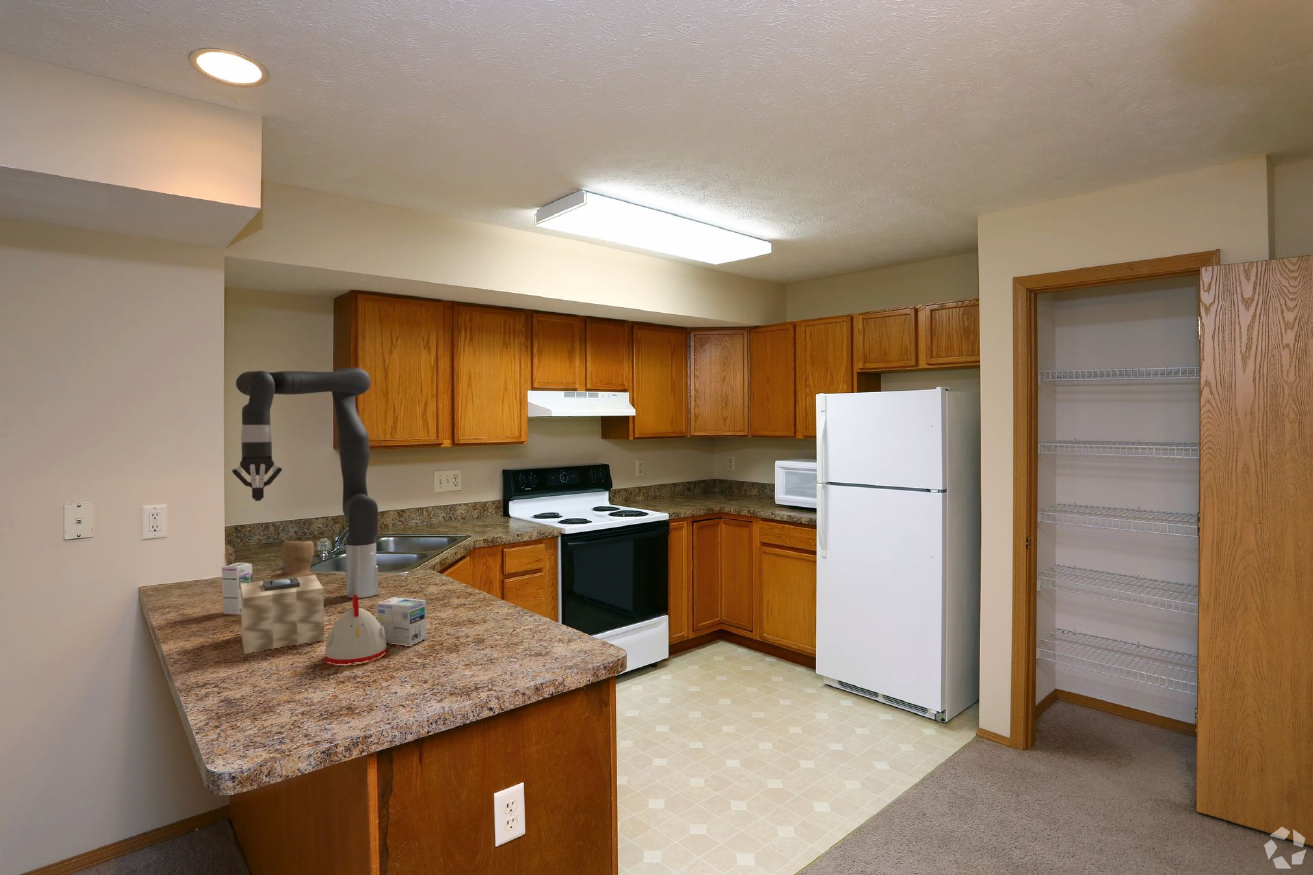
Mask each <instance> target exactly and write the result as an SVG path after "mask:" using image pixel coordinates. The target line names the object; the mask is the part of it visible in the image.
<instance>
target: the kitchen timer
mask: <svg viewBox="0 0 1313 875" xmlns="http://www.w3.org/2000/svg"><path fill="white" fill-rule="evenodd" d="M385 638H386V637H385V632H384V627H383V626H382V625H381V623H379V622H378V618H376V617H375V616H374V615H373V614H372V613H371V612H369V611H368V610H366V609H364V608H362V607H361V608H360V605H359V598H358V596H357V595H353V598H352V608H351V609H348V610H347V611H345V612H344V613H342V615H341V616H340V617H339V618H338V619H337V621H336V622H335V623H334V625H333V626H332V629H328V632H327V635H326V641H325V650H324V661H325V660H326V661H327V662H331V663H335V664H348V663H354V662H363V661H366V660H371V659H373V658H377V657H379V656H381V655H382V654H384V653H385V652H386V649H387V646H388V644H386V639H385ZM386 653H387V652H386Z"/></svg>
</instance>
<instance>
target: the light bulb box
mask: <svg viewBox="0 0 1313 875" xmlns="http://www.w3.org/2000/svg"><path fill="white" fill-rule="evenodd" d="M376 604H377V605H376V606H377V607H376V612H377V621H378V622H379V623H381V625H382V626H383V627H384V632H385V637H386V638H385V639H386V642H387V643H398V644H406V645H412V644H414V643H416V642H418V641H421V640H422V639H425V638H427V601H426V599H418V598H416V599H415V598H406V597H396V596H394V597H389V598H388V599H385V600H382V601H379V602H377V603H376Z"/></svg>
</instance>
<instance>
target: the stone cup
mask: <svg viewBox="0 0 1313 875" xmlns="http://www.w3.org/2000/svg"><path fill="white" fill-rule="evenodd" d="M314 544H315V543H314V542H313V541H311V540H308V541H306V540H303V541H302V540H301V541H294V540H293V541H292V540H288V541H287V540H286V541H283V543H282V547H281V552H280V553H281V558H282V562H283V570H282V572H280V573H275V574H272V575H271V576H270V578H269V580H277V579H285V578H294V577H302V576H311V575H315V576H316V578H317V579H318V575H317V574H316V573H314V572H312V571H311V564H312V562H313V559H314V556H315V545H314Z"/></svg>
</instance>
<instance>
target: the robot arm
mask: <svg viewBox="0 0 1313 875" xmlns="http://www.w3.org/2000/svg"><path fill="white" fill-rule="evenodd" d="M371 384H372V383H371V377H370V375H369V373H368V372H367V371H365V370H364V369H363V368H361V367H354V366H353V367H344V368H343V367H341V368H338V369H336V370H334V371H306V370H305V371H303V370H301V371H300V370H297V371H296V370H283V371H282V370H280V371H274V372H273V371H272V372H270V371H265V370H253V371H244V372H242V373H241V374H240V375H238V376H237V379H236V381H235V386H236V388H237V390H238V391H239V392H240V393H241V394H243V395H245V396H249V398H248V403H247V404H245V405H243V406H242V409H241V433H240V434H241V438H240V440H241V461H239V465H238V466H237V467H235V468H232V470H231V473H232V474H233V475H234V476H235V477H236V478H237V479H238V480H240V482H241V483H242V484H243V486H245V487H249V488H251V498H252V500H254V502H259V501H262V500H263V499H264V493H265V492H264V489H265V487H267V486H270V485H271V484H272V483H273V481H274V480H275V479H276V478H277V477H278V476H279V474H280V473H282V471H283V469H282V467H279V466H277V465H276V464H275V461H274V459H273V447H272V446H273V444H272V443H273V441H272V439H273V436H272V434H273V433H272V427H271V408H272V405H273V400H274V396H275V395H290V396H291V395H304V394H305V395H307V394H315V393H328V392H330V393H331V394H332V399H333V405H334V409H335V410H334V411H335V417H336V418H335V419H336V428H337V438H338V439H337V441H338V453H339V460H340V470H341V476H342V512H343V515H344V516H345V518H346V519H348V532H347V535H346V537H345V563H346V564H345V565H346V568H345V570H346V574H345V575H346V597H347V598H350V599H353V595H357V596H358V599H363V598H369V597H372V596H377V595H379V566H378V565H377V536H378V532H379V507H378V504H377V502H376V500H375V499H374V498H372V497H371V496H369V493H368V486H367V472H368V467H369V464H370V463H369V461H370V453H371V452H370V451H371V450H370V440H369V438H370V437H369V434H368V431H367V429H366V426H365V425H364V423H363V421H362V420H361V417H360V415H359V413H358V411H357V407H356V396H361V395H363V394H365V393H367V391H368V390H369V388H370V387H371ZM243 471H244V472H245V473H246V474H247V475H248V476H250V481H248V480H247V478H245V477H244V475H242V474H243ZM270 471H271V473H272V474H271V475H270V476H268V478H267V479H266V480H265V476H266V475H267V474H268V473H269V472H270ZM257 476H258V481H257ZM257 482H258V484H257Z"/></svg>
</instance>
